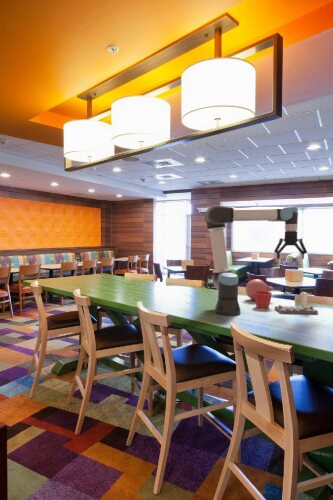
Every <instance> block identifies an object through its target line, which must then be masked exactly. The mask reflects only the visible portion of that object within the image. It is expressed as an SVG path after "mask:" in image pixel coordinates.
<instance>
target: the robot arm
mask: <svg viewBox="0 0 333 500" xmlns="http://www.w3.org/2000/svg"><path fill="white" fill-rule="evenodd" d="M298 218H299V209H298V207H297V206H286V207H285V206H284V207H242V208H240V207H233V206H223V205H214V206H211V207H210V208H208V209H207V210H206V212H205V214H204V222H205V224H206V230H207V231H208V232H209V236H210V244H211V249H212V256H213V257H212V258H213V267H214V269H213V270H212V276H213V278H212V284H213V287H214V288H215V289H216V290H217V301H216V304H215V307H214V313H215V314H217V315H222V316H238V315H240V314H241V307H240V305H239V300H238V298H239V276H238V274H236V273H233V272H232V269H231V268H230V267H229V264H228V262H229V261H228V256H227V247H226V240H225V239H226V238H225V233H224V232H225V231H224V230H225V229H226V224H230V223H231V224H232V223H234V222H251V221H252V222H255V221H256V222H257V221H263V222H264V221H267V222H284V230H285V231H284V238H282V237H281V238H279V240H278V243H277V245H276V247H275V248H274V250H273V253H276V259H277V260H278V261H277V263H278V265H281V264H282V253H281V252H282V251H283V250H285V248H286V247H287V246H294V247H295V248H296V249H297V251H298V252H299V253H300V254H299V265H303V260H304V259H305V254H307V253H308V250H307V249H306V247H305V246H306V245H304V242H303V238H298V221H299V220H298ZM297 242H298V243H299V244H298V243H297ZM282 243H283V245H282ZM281 245H282V246H281Z"/></svg>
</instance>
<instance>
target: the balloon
mask: <svg viewBox="0 0 333 500" xmlns="http://www.w3.org/2000/svg"><path fill="white" fill-rule="evenodd" d="M273 290H275V288H274V287H273V286H272V285H268V284H266V283H265V282H264V280H262V279H257V278H256V279H255V278H254V279H251V280H250V281H248V282H247V284H246V286H245V293H246V296H247V297H248V298H249V299H250V300H253V301H256V300H255V293H254V292H256V291H265V292H272V291H273Z"/></svg>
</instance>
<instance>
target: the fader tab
mask: <svg viewBox="0 0 333 500" xmlns="http://www.w3.org/2000/svg"><path fill="white" fill-rule="evenodd" d="M300 299H301V301H300V303H301V304H300V307H301V308H304V309H307V307H308V293H307V292H305V291H301V298H300Z"/></svg>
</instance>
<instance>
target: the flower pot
mask: <svg viewBox="0 0 333 500" xmlns="http://www.w3.org/2000/svg"><path fill="white" fill-rule="evenodd" d="M254 293H255V300H254V301H255V305H256V307H257V308H259V309H268V308H270V304H271V300H272V295H273V294H272V291H269V292H265V291H256V292H254Z"/></svg>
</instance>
